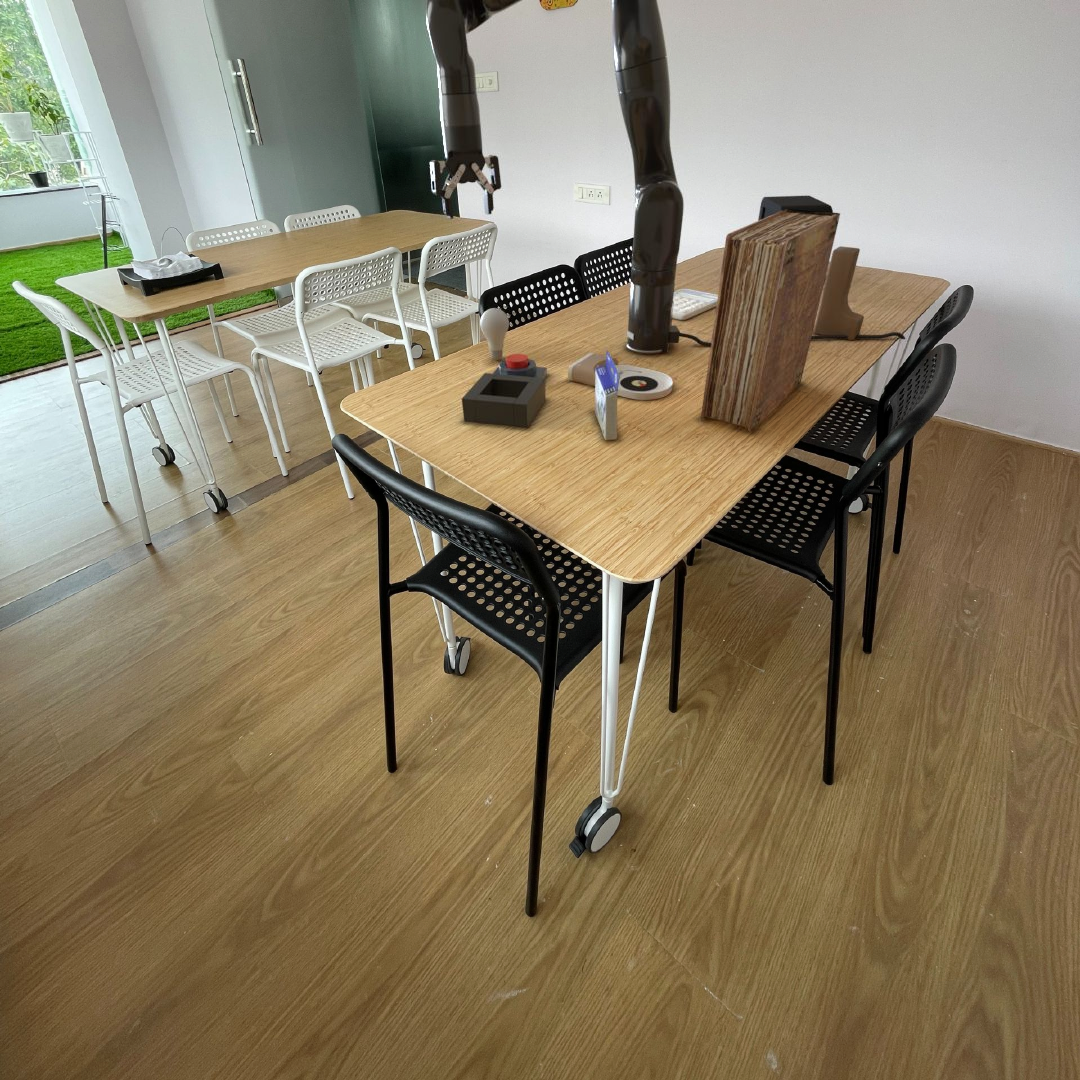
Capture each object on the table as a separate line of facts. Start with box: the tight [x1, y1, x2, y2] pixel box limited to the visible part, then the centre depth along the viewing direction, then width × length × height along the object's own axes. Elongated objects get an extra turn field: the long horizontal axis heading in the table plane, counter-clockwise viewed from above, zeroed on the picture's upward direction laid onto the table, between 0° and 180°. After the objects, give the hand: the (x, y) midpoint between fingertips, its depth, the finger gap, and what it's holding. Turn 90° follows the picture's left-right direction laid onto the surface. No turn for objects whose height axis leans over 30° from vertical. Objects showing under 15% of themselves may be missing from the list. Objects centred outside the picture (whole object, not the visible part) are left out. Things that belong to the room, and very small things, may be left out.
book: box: [700, 209, 841, 433], centre depth 106 cm, size 25×9×30 cm, turn 143°
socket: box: [461, 372, 547, 429], centre depth 113 cm, size 12×12×4 cm
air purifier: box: [757, 195, 834, 221], centre depth 177 cm, size 20×15×20 cm
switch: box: [491, 358, 548, 379], centre depth 125 cm, size 10×8×4 cm
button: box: [505, 353, 529, 369], centre depth 123 cm, size 4×4×2 cm
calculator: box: [672, 288, 718, 321], centre depth 161 cm, size 13×20×2 cm, turn 136°
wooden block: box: [813, 246, 865, 341], centre depth 137 cm, size 9×4×18 cm, turn 52°
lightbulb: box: [479, 307, 510, 361], centre depth 132 cm, size 6×6×11 cm
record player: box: [567, 352, 674, 401], centre depth 122 cm, size 12×3×20 cm
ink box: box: [594, 350, 620, 441], centre depth 105 cm, size 12×2×12 cm, turn 5°
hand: (469, 216), depth 129 cm, fingers open, 8 cm apart
